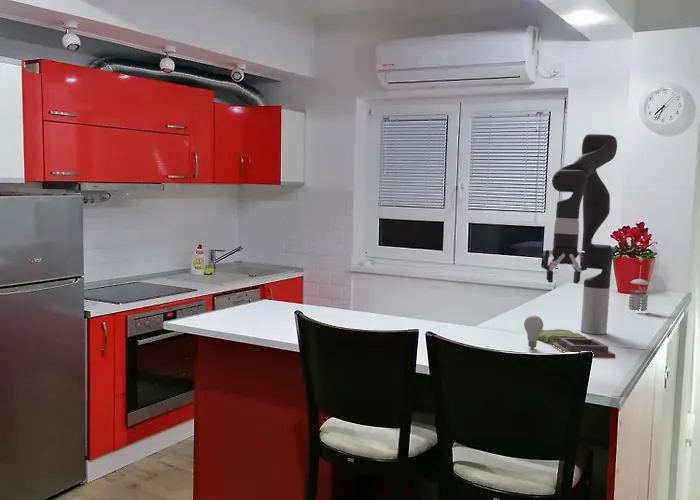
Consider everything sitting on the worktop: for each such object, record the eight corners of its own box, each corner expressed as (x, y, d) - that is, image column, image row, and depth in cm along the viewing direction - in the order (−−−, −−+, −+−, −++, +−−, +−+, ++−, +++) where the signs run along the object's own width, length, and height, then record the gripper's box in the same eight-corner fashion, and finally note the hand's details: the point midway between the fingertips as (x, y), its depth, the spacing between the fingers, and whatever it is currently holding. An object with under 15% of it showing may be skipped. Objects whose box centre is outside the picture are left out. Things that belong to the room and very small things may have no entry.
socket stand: (551, 345, 234) (551, 336, 234) (594, 346, 235) (595, 337, 234) (568, 356, 218) (569, 346, 218) (615, 357, 219) (615, 348, 218)
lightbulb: (521, 349, 226) (523, 315, 225) (523, 345, 231) (525, 313, 230) (540, 351, 223) (542, 317, 222) (542, 347, 229) (544, 314, 228)
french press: (645, 311, 322) (649, 257, 320) (653, 315, 310) (657, 259, 308) (623, 309, 323) (627, 256, 321) (630, 313, 311) (634, 258, 309)
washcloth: (591, 343, 242) (591, 334, 242) (548, 345, 236) (549, 336, 236) (567, 336, 254) (567, 327, 254) (526, 337, 248) (526, 328, 248)
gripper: (582, 233, 226) (579, 282, 227) (540, 231, 225) (537, 280, 226) (592, 234, 219) (589, 285, 220) (549, 232, 217) (545, 283, 218)
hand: (562, 282), depth 223 cm, fingers open, 8 cm apart
